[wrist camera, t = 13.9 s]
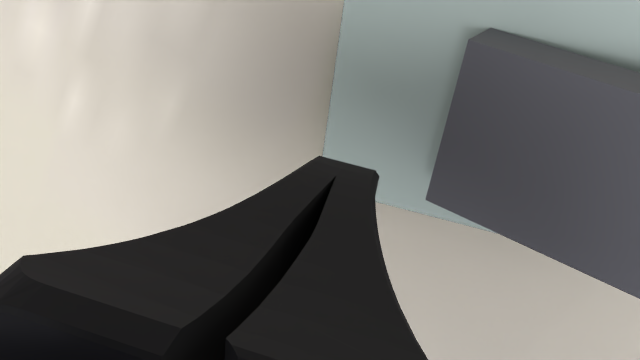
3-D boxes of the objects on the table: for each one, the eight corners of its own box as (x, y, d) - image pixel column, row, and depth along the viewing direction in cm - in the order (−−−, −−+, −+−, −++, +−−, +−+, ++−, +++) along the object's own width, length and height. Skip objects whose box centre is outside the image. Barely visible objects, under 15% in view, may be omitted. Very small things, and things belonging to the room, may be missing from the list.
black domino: (490, 27, 16) (893, 149, 12) (447, 179, 19) (767, 318, 15) (468, 39, 15) (905, 178, 11) (425, 199, 18) (766, 356, 14)
